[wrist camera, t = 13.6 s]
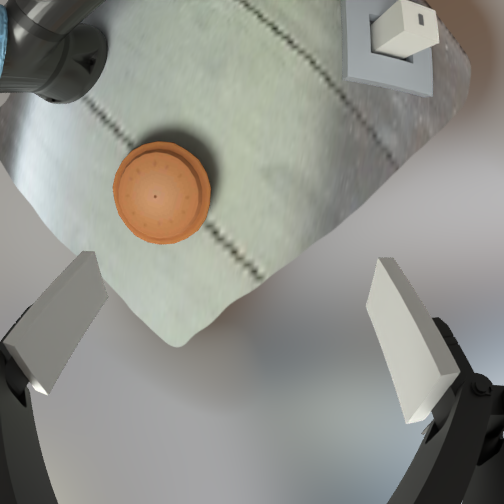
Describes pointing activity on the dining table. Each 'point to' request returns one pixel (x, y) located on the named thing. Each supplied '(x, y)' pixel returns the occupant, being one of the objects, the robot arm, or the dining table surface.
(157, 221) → the pie
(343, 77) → the gray socket base
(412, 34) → the brick
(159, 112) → the dining table surface
